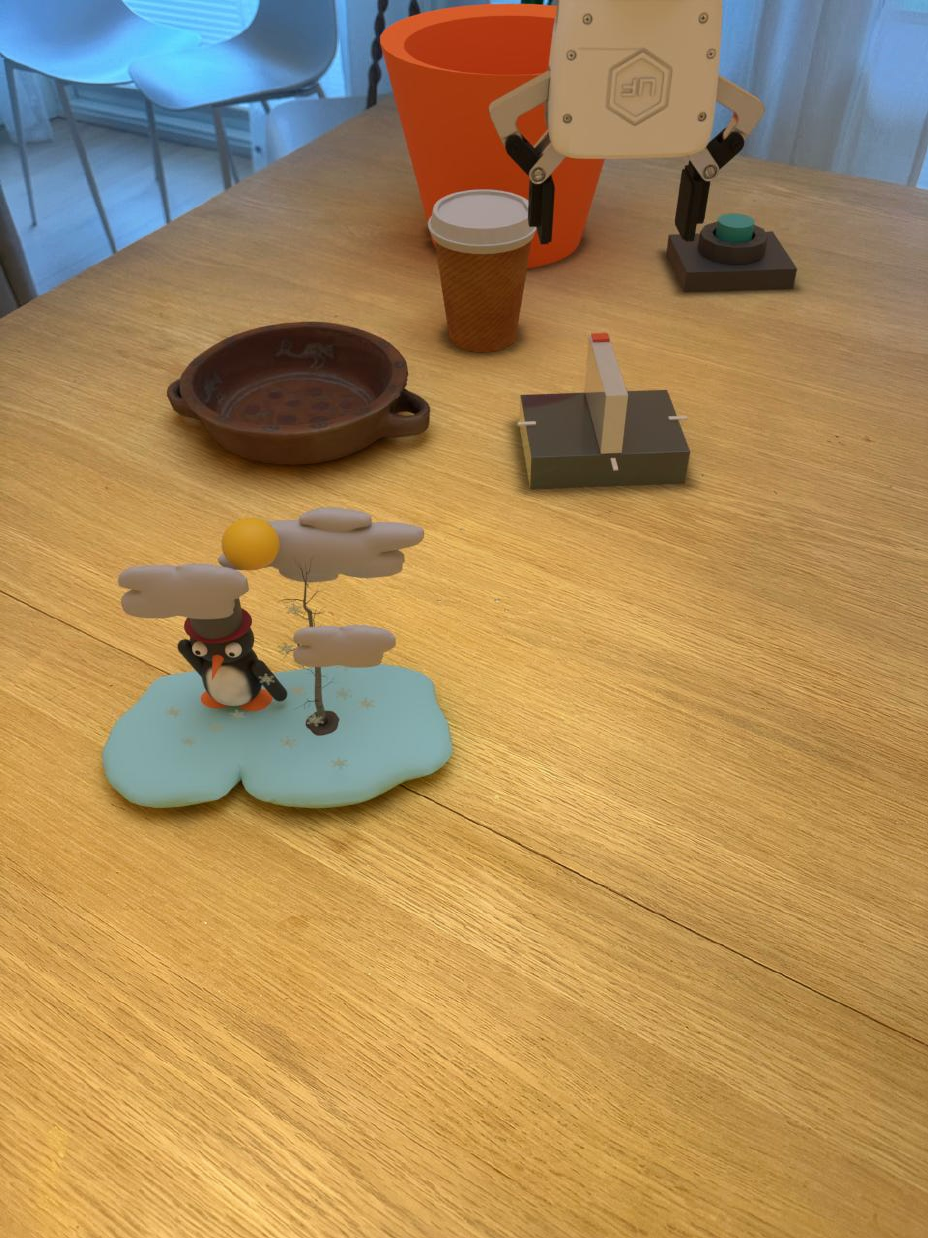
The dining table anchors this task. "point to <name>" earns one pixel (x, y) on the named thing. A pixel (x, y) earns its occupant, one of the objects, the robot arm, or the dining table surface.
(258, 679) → the penguin figurine
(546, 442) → the base
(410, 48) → the flowerpot
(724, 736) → the dining table surface
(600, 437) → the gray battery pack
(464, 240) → the disposable coffee cup
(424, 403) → the dish
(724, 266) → the switch box
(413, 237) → the dining table surface
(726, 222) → the teal button
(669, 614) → the dining table surface
